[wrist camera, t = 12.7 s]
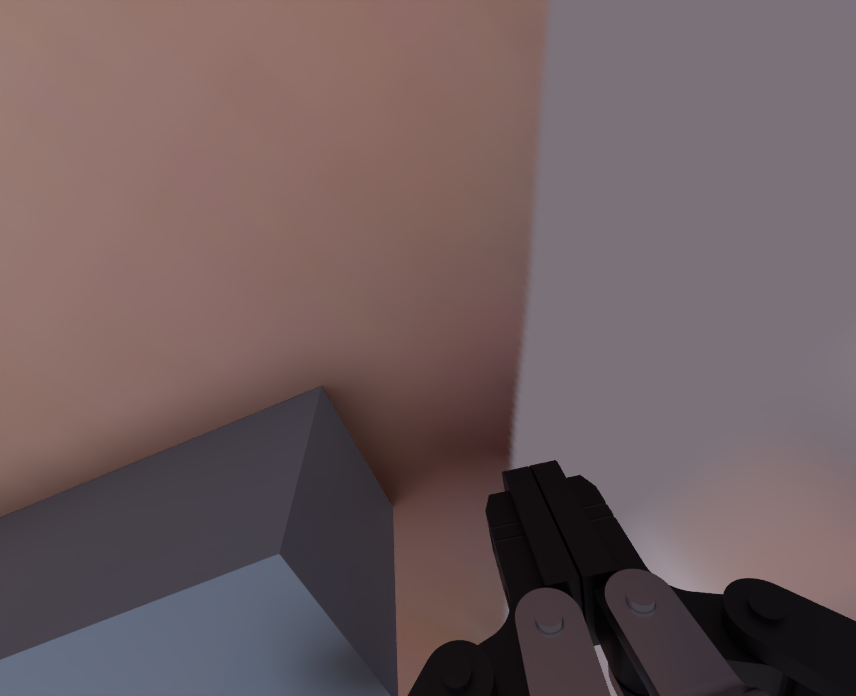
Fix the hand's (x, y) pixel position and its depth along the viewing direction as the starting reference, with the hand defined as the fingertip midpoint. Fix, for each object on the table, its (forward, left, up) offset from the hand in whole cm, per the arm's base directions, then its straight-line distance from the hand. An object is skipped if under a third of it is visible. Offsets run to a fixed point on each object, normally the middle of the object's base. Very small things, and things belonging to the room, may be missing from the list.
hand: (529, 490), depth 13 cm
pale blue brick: (0, +10, -2) cm, 11 cm away
